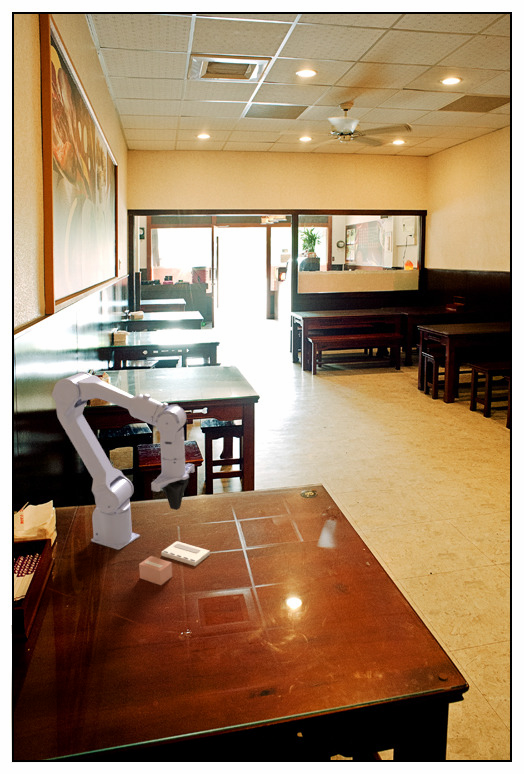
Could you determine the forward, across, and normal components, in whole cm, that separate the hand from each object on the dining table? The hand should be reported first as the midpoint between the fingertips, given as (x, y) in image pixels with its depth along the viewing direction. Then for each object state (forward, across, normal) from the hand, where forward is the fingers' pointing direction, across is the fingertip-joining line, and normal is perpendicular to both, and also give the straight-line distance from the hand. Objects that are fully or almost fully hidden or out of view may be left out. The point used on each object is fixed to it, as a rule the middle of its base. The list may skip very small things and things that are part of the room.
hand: (175, 508), depth 138 cm
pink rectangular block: (+10, -14, -5) cm, 18 cm away
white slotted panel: (+10, -3, -5) cm, 11 cm away
